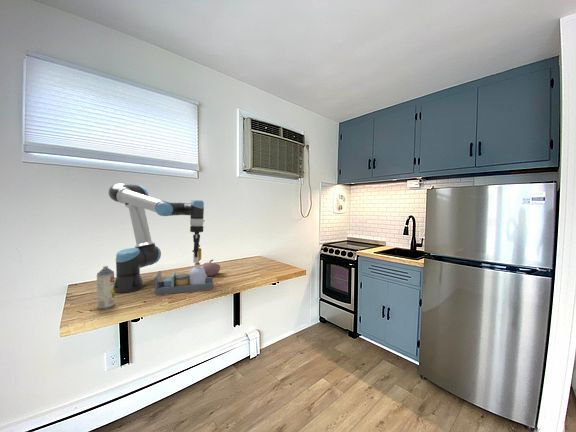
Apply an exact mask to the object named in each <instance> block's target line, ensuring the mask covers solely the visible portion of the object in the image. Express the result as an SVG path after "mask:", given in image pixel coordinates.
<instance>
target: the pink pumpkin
mask: <svg viewBox="0 0 576 432" xmlns="http://www.w3.org/2000/svg"><path fill="white" fill-rule="evenodd" d="M213 261H214V259H211V260H209V261H207V262H204V263H203V265H202V268H203V269H205V276H209V277H213V276H216V275H218V274H219V272H220V271H221V265H220V264H219V263H216V262H213Z"/></svg>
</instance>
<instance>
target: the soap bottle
mask: <svg viewBox="0 0 576 432" xmlns="http://www.w3.org/2000/svg"><path fill="white" fill-rule="evenodd" d="M198 250H199V255H198V263H194V267H193V268H191V269H190V270H189V273H188V274H189V285H197V284H205V278H206V274H205V269H203V266H201V263H200V261H201V260H202V248H200V247H199V248H198Z"/></svg>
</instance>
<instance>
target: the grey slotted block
mask: <svg viewBox="0 0 576 432" xmlns="http://www.w3.org/2000/svg"><path fill="white" fill-rule="evenodd" d="M164 281H165V280H163V281H162V270H160V271H158V272H157V274H156V275H155V277H154V296H157V295H159V296H160V295H168V294H178V293H180V294H181V293H190V292H200V291H208V290H214V282H213V281H214V280H213V276H209V277H205V284H197V285H186V286H175V287H164Z"/></svg>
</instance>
